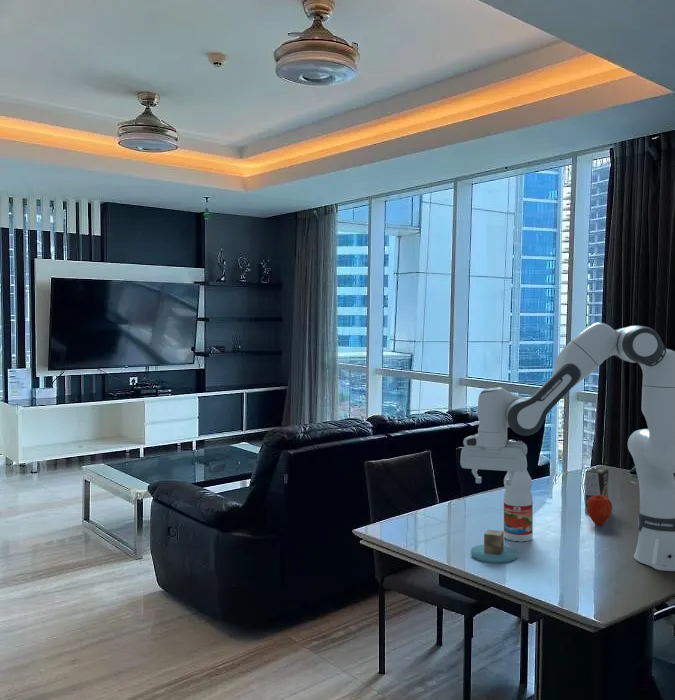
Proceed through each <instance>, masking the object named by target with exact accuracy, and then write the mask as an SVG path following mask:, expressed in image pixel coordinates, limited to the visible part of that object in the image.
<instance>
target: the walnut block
mask: <svg viewBox="0 0 675 700" xmlns="http://www.w3.org/2000/svg"><path fill="white" fill-rule="evenodd" d="M504 538H505V537H504V530H497V529H496V530H495V529H486V531H485V532H484V534H483V540H484V541H483V542H484V543H483V545H484V553H488V554H496V555H501V554H502V552H503V550H504V546H505V545H504V544H505V543H504V540H505V539H504Z"/></svg>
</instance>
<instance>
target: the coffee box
mask: <svg viewBox="0 0 675 700" xmlns="http://www.w3.org/2000/svg"><path fill="white" fill-rule="evenodd" d="M584 474H585V475H584V477H585V479H584V481H585V482H584V514H586V515H589V514H588V512H587V503H588V500H589V498H590V497H592V496H594V495H602V496H606V497H607V498H608V499H609V469H608V468H601V467H600V468H597V467H596V468H595V467H591V468H590V469H587V470H586V471H585V472H584Z"/></svg>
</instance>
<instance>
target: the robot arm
mask: <svg viewBox="0 0 675 700" xmlns="http://www.w3.org/2000/svg"><path fill="white" fill-rule="evenodd" d="M612 356H613V357H616V358H617V359H618V360H621V361H625V362H629V363H633V364H635V363H637V364H638V365H639V366H640V368H641V370H642V371H641V372H642V380H641V382H642V384H641V385H642V387H641V408H640V409H641V412H642V414H643V416H644V418H645V421H646V425H647V428H642V429H638V430H635V431H633V432H632V433H631V434H630V436H629V438H628V441H627V449H628V451H629V453H630V455H631V457H632V459H633V463H634V467H635V471H636V476H637V480H638V486H639V487H638V488H639V511H638V514H637V528H638V531H639V532H638V537H637V544H636V548H635V552H634V554H633V558H634V559H635V561H637V562H639V563H641V564H644V565H646V566H648V567H652V568H653V569H655V570H656V571H657V570H658V571H665V572H675V476H674V474H675V350H673V349H669V348H666V346H665V344H664V343H663V341H662V339H661V337H660V335H659V334H658V333H657V331H655V329H653V328H651V327H649V326H644V325H630V326H629V325H628V326H625V327H620V328H617V329H614V328H613V327H611V326H610V325H609V324H606V323H605V322H599V321H598V322H595V323H592V324H591V325H590V326H589V325H588V327H587V328H584V329H583V330H582V331H581V332H580V333H578V334H577V335H576V336H575V337H573V338H572V339H571V340H570V341H569V342H568V343H567V344H566V345H565V346H564V347H563V349H561V351H560V352H559V354H558V355H557V357H556V359H555V365H554V370H553V372H552V375H550V378H549V379H548V380H547V381H546V382H545V383H544V384H542V386H541V387H540V388H539V389H538V390H537V391H536V392H535V393H534V394H533V395H532V396H531V397H529V398H526V397H522V396H519V395H517V394H514V393H512V392H510V391H508V390H506V389H505V388H504V387H501V386H497V387H489V388H486V389H483V390H481V392H480V393H479V395H478V398H477V418H478V422H479V423H478V428H477V433H475V434H473V435H469V436H466V437H465V438H463V440H462V441H463V442H462V443H463V447H462V448H461V451H460V458H459V459H460V461H459V463H460V466H461V468H462V469H467V470H468V469H469V470H470V469H471V473H472V475H473V476H474V478H475V483H476V484H482V476H479V473H478V470H483V471H484V470H486V471H503V472H508V471H510V475H511V474H512V475H511V477H510V479H506V482H507V483H506V485H510V486H511V485H512V478H513V477H514V475H515V471H516V472H524V471H525V470H526V469H527V468H528V461H527V454H528V446H527V444H526V443H525V442H523V441H522V440H510V439H509V440H508V428H510V430H512V431H513V432H514V433H516V434H517V435H519V436H524V437H527V436H528V437H529V436H531V435H534V434H536V433H537V432H539V431H540V429H542V427H543V425H544V421H545V419H546V417H547V415H548V413H550V411H552V409H553V408H554V407H555V406H556V405H557V403H558V402H560V400H562V399H563V398H564V397H565V396H566V395H567V393H568V392H569V391H570V390H571V389H573V388H574V387H575V386H576V385H578V384H579V383H580V382H581V381H583V380H584V379H586V378H587V377H588V376H589V375H591V374H592V373H593V372H594V371H596V370H597V368H598V367H599V366H600V365H602V364H603V363H604V362H605V360H607V359H609V358H610V357H612Z"/></svg>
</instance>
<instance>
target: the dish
mask: <svg viewBox="0 0 675 700" xmlns="http://www.w3.org/2000/svg"><path fill="white" fill-rule="evenodd" d="M471 555H472V556H473V557H474V558H473V557H472V556H471ZM470 556H471V557H472V558H473V559H475V558H476V559H475V560H477V559H478V560H477V561H480V560H481V561H480V562H483V561H485V563H489V562H490V563H491V564H505V563H506V562H507V563H510V562H509V561H511V562H513V561H512V560H514V559H515V560H517V558H518V552H517V550H516V549H514V548H512V547H510V546H508V545H504V550H503V552H502V554H501V555H496V554H488V553H484V544H478V545H475V546H473V547H472V548H471V550H470ZM516 557H517V558H516ZM515 560H514V561H515Z"/></svg>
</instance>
